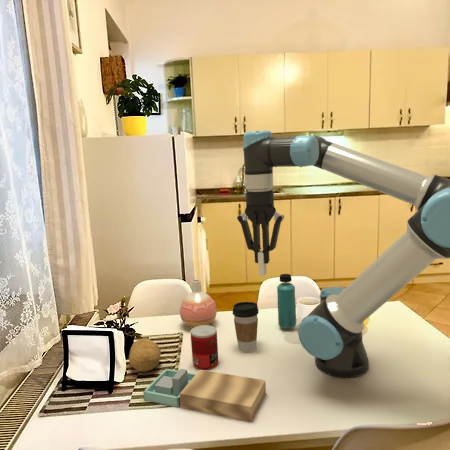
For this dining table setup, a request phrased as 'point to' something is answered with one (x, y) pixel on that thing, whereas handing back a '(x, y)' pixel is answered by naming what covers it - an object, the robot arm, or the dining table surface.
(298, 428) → the dining table surface
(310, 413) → the dining table surface
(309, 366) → the dining table surface
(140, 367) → the potato
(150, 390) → the tray
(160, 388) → the tile
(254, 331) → the coffee cup
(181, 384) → the tile
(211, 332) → the canned food
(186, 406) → the oak board
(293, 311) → the beverage bottle
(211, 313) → the vase
